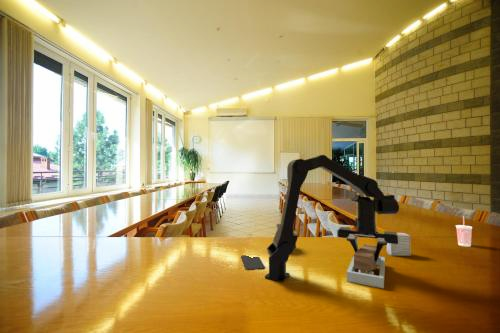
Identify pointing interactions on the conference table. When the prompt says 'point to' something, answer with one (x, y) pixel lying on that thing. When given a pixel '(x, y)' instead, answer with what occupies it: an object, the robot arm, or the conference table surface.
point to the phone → (252, 263)
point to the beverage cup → (464, 234)
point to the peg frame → (367, 275)
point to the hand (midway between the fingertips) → (366, 259)
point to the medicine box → (400, 246)
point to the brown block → (365, 258)
